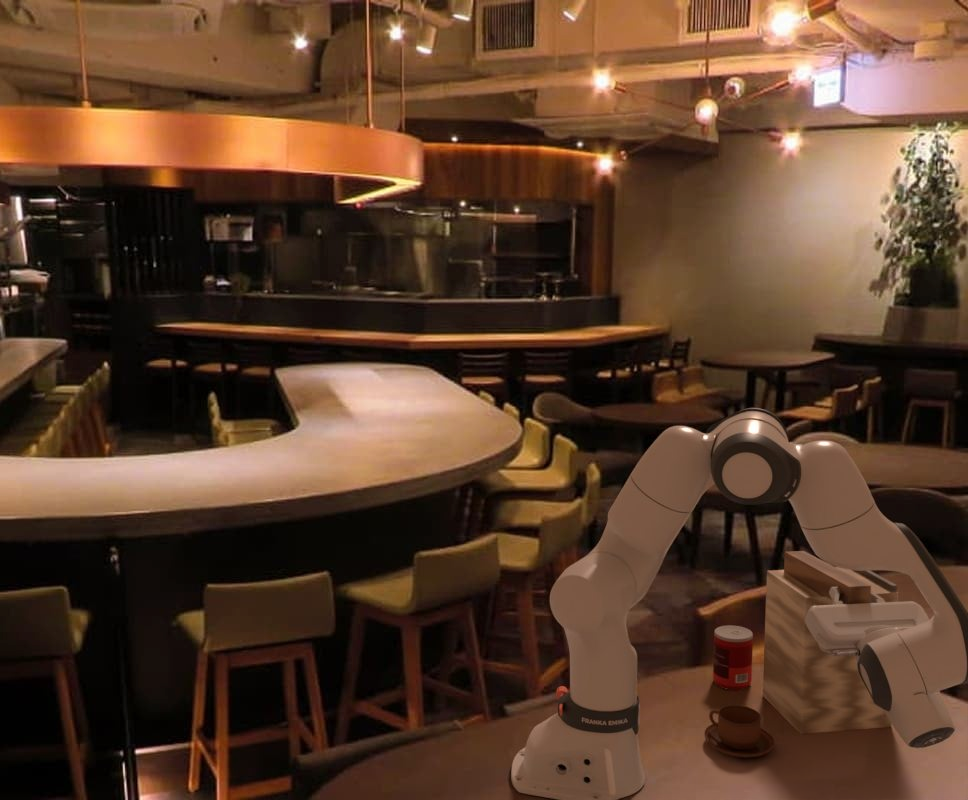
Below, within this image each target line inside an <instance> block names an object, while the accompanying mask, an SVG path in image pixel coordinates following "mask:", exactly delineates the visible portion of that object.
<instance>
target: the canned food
mask: <svg viewBox="0 0 968 800" xmlns="http://www.w3.org/2000/svg"><path fill="white" fill-rule="evenodd" d="M753 639H754V634H753V632H752V630H751V629H749V628H747V627H743V626H741V625H730V624H729V625H728V624H727V625H721V626H717V627H716V628H715V629H714V633H713V661H712V662H713V663H712V671H713V672H712V677H713V679H712V680H713V682H714V684H715V685H716V684H717V686H718V687H719V686H720V688H722V687H723V688H722V689H725V688H727V689H726V690H729V689H733V690H732V691H738V690H739V691H740V689H742V690H745V689H747V688H749V687H750V686H751V683H752V673H753V649H754V648H753V647H754V646H753V645H754V641H753ZM749 685H750V686H749ZM748 686H749V687H748ZM744 688H745V689H744Z"/></svg>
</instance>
